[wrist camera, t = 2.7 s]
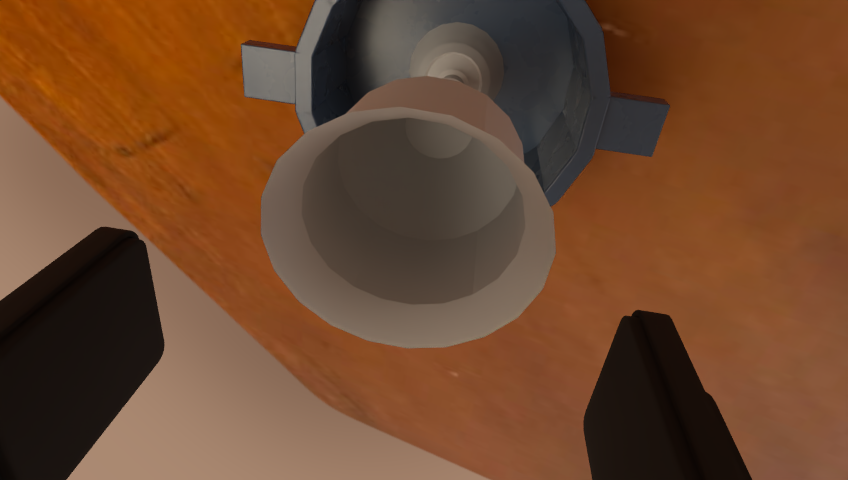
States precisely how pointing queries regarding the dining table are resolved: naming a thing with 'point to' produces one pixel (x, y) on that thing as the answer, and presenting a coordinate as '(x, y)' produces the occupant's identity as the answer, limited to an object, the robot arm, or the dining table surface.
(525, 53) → the pot
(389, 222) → the chalice
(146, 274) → the robot arm
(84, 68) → the dining table surface
